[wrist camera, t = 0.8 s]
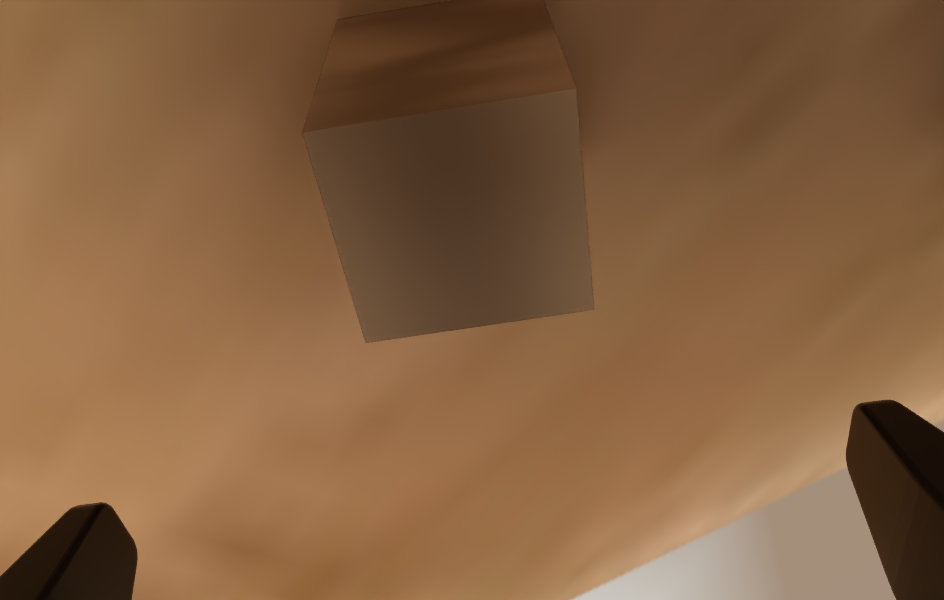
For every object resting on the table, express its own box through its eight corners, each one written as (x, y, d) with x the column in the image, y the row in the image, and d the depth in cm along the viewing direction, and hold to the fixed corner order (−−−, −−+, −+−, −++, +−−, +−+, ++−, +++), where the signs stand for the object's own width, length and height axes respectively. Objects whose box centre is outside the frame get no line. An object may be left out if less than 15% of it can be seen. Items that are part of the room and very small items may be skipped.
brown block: (537, -15, 18) (576, 88, 13) (556, 167, 20) (594, 309, 16) (337, 19, 18) (302, 132, 13) (381, 194, 21) (365, 342, 16)
